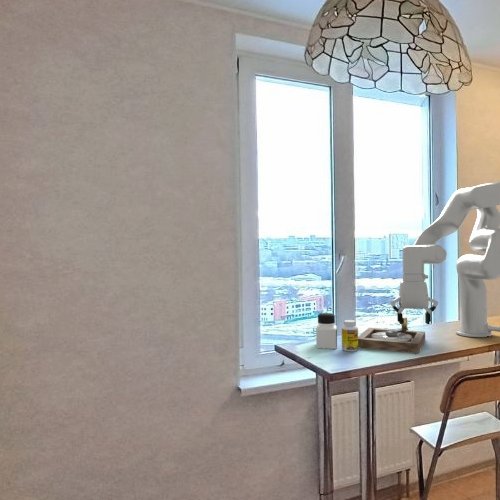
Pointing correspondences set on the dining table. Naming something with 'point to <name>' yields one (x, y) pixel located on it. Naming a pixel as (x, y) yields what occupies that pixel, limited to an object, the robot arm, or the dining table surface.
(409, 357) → the dining table surface
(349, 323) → the supplement bottle
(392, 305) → the robot arm
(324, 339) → the medicine bottle
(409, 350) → the housing
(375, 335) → the dial
